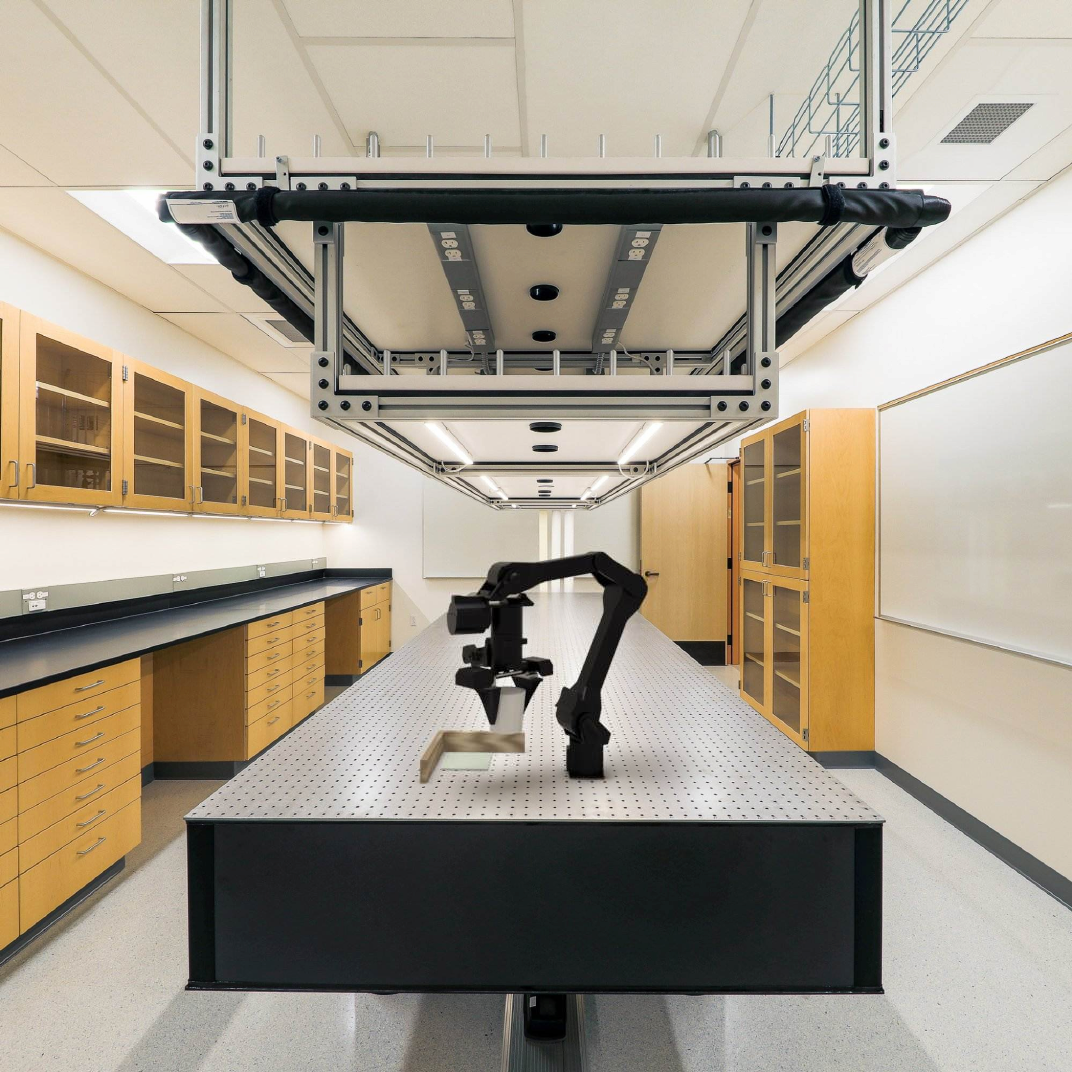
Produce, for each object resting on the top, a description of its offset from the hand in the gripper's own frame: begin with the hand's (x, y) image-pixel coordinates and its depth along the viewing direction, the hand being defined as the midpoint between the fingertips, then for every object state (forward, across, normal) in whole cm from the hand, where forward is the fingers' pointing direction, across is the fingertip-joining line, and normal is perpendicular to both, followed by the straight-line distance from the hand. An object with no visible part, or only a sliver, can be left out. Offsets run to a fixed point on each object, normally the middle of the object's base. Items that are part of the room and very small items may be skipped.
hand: (506, 720), depth 105 cm
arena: (+11, -3, -12) cm, 17 cm away
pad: (+11, -3, -14) cm, 19 cm away
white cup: (+2, 0, 0) cm, 2 cm away
